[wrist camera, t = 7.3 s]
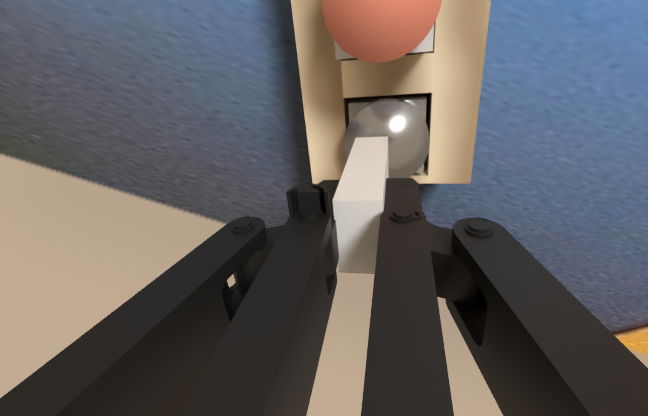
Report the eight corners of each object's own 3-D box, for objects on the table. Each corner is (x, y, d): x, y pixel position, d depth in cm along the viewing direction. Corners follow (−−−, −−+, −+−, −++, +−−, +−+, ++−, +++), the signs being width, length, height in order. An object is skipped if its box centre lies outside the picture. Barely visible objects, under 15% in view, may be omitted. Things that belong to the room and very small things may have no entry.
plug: (358, 153, 26) (346, 184, 21) (355, 87, 24) (341, 104, 19) (423, 151, 25) (427, 183, 20) (425, 82, 23) (431, 99, 18)
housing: (327, 159, 27) (312, 183, 23) (293, -195, 18) (259, -264, 14) (459, 156, 25) (470, 183, 21) (496, -250, 16) (530, -354, 12)
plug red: (346, 56, 20) (326, 67, 15) (340, -41, 18) (315, -69, 13) (430, 49, 19) (439, 57, 14) (435, -56, 17) (448, -92, 12)
